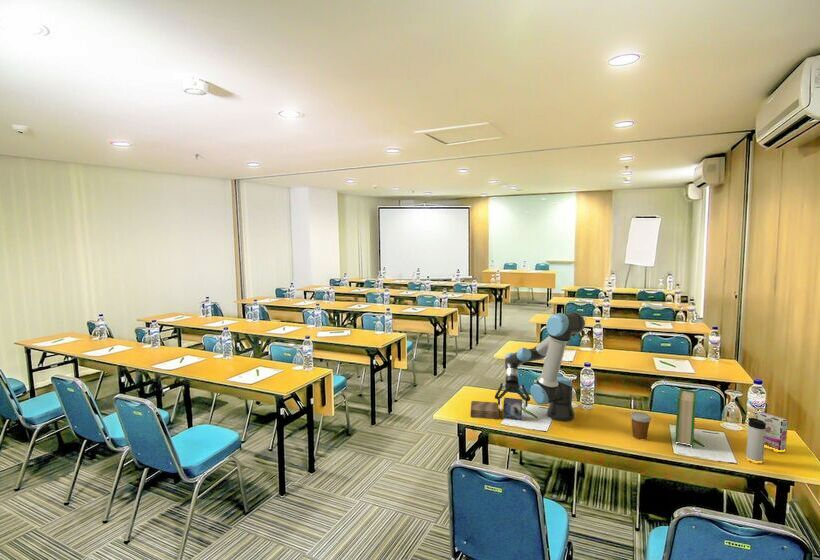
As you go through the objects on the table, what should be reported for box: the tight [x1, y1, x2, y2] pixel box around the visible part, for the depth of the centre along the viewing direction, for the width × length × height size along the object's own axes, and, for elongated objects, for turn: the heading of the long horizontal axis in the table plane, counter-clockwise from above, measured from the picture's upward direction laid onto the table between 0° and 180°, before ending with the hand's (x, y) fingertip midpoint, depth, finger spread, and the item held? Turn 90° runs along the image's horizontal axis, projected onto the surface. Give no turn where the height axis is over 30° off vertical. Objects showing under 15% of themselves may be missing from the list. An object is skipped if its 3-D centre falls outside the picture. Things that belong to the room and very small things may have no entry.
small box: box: [502, 397, 523, 421], centre depth 247 cm, size 11×6×10 cm, turn 73°
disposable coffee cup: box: [629, 411, 652, 440], centre depth 223 cm, size 10×10×12 cm
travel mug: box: [745, 417, 766, 462], centre depth 198 cm, size 6×7×20 cm
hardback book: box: [674, 388, 697, 447], centre depth 220 cm, size 18×7×24 cm, turn 145°
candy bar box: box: [756, 411, 789, 450], centre depth 212 cm, size 11×5×16 cm, turn 21°
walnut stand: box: [470, 400, 500, 420], centre depth 254 cm, size 16×16×4 cm
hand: (512, 410), depth 245 cm, fingers open, 13 cm apart
